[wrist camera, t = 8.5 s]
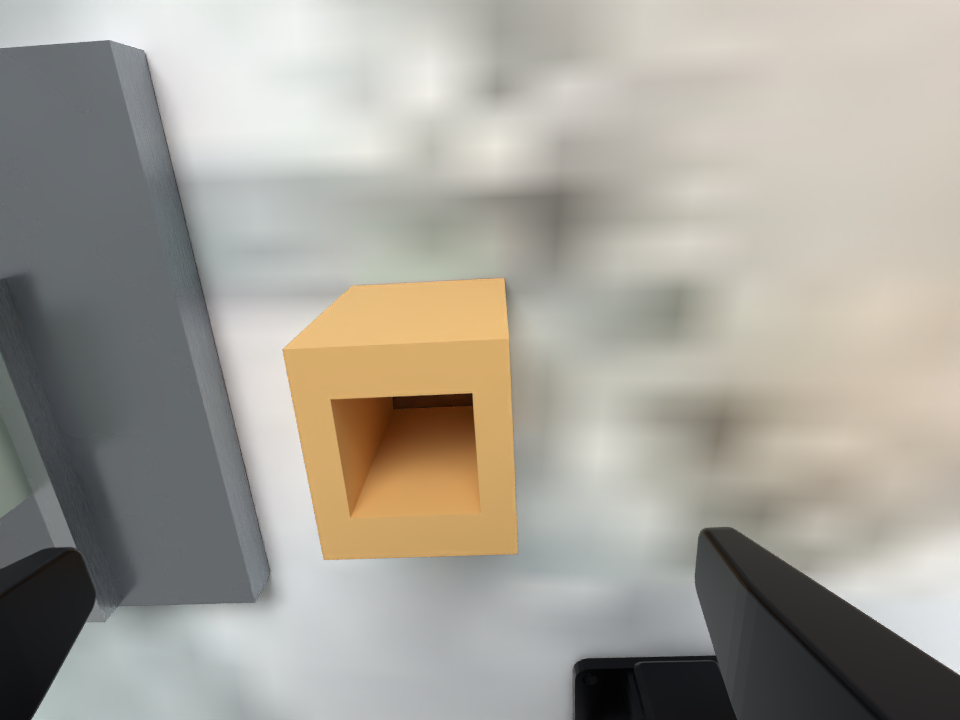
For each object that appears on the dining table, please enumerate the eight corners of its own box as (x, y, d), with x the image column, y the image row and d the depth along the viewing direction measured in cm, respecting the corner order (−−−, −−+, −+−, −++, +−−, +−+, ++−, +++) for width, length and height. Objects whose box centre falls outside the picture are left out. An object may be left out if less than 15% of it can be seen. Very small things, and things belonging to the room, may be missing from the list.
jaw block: (511, 435, 16) (517, 553, 11) (373, 440, 16) (323, 559, 11) (504, 278, 14) (509, 338, 9) (351, 285, 14) (282, 349, 10)
